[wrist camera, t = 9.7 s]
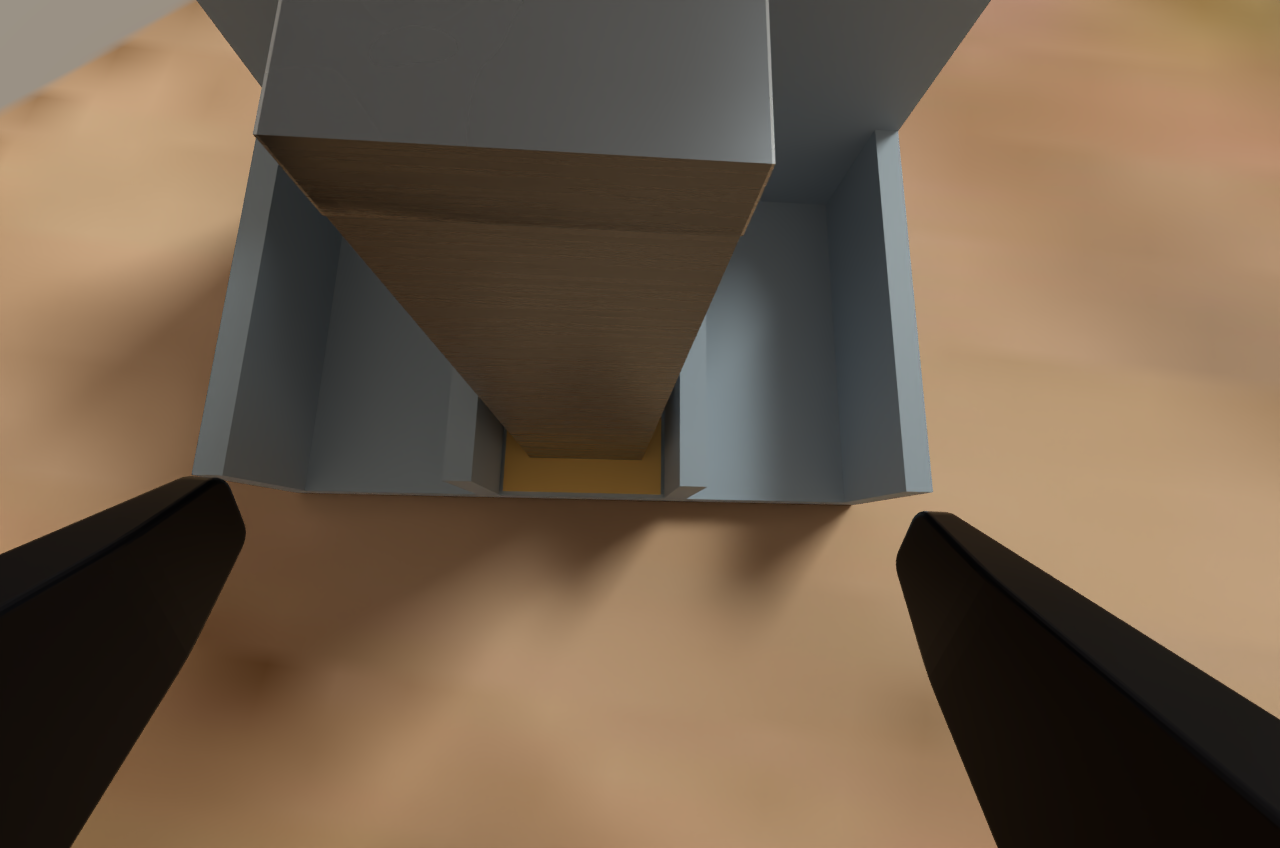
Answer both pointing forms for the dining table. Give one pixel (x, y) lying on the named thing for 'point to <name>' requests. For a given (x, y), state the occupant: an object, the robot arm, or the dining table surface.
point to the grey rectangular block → (535, 184)
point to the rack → (717, 362)
